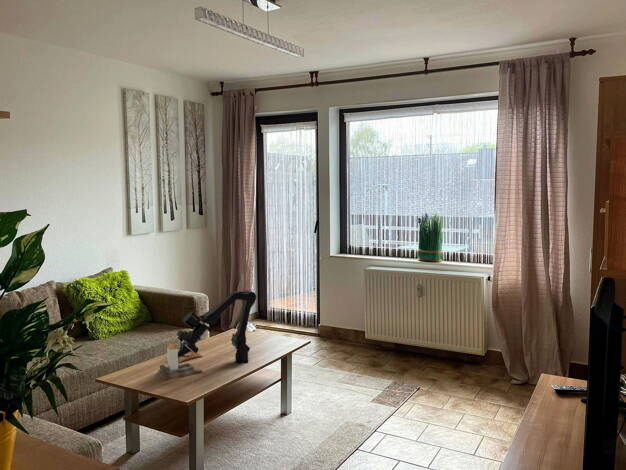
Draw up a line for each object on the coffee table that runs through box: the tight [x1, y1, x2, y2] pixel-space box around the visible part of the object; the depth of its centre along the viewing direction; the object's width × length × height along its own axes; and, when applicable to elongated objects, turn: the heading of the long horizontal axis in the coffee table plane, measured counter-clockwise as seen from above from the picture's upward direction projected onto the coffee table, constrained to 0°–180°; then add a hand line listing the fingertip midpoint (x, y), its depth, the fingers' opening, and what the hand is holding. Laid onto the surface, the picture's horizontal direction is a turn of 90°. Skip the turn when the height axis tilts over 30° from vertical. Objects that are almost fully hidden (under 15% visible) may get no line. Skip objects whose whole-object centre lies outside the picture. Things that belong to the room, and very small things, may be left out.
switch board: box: [157, 362, 203, 381], centre depth 280 cm, size 20×12×4 cm, turn 120°
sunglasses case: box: [178, 350, 203, 365], centre depth 303 cm, size 18×7×7 cm, turn 140°
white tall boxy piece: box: [166, 343, 179, 371], centre depth 278 cm, size 4×5×14 cm
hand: (176, 357), depth 279 cm, fingers closed
